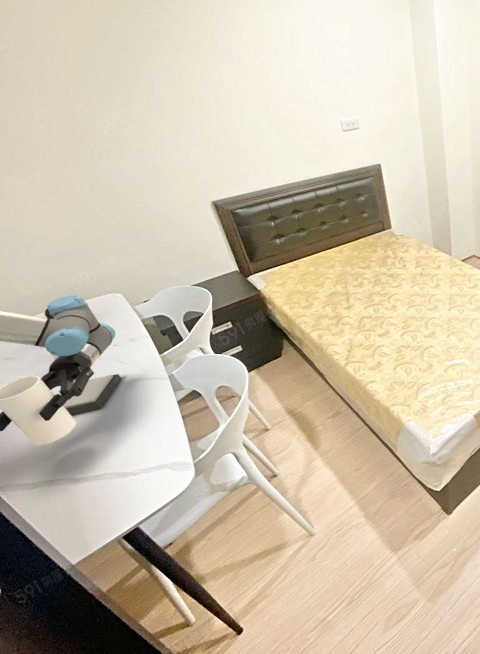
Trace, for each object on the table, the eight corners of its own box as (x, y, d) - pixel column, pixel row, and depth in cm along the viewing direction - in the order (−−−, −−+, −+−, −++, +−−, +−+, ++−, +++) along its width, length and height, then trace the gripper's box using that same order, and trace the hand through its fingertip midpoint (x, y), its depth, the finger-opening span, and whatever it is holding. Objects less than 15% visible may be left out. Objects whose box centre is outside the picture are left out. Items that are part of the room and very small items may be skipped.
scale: (44, 422, 120) (38, 414, 118) (71, 390, 131) (65, 383, 130) (101, 409, 123) (95, 401, 122) (122, 378, 135) (117, 371, 133)
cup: (31, 451, 99) (-13, 406, 91) (34, 431, 104) (-7, 387, 96) (75, 432, 103) (38, 387, 95) (76, 414, 109) (41, 370, 101)
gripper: (124, 363, 119) (83, 420, 100) (37, 381, 113) (-25, 445, 94) (111, 343, 115) (65, 399, 96) (20, 361, 109) (-48, 423, 91)
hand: (21, 422), depth 95 cm, fingers closed on cup, 8 cm apart
